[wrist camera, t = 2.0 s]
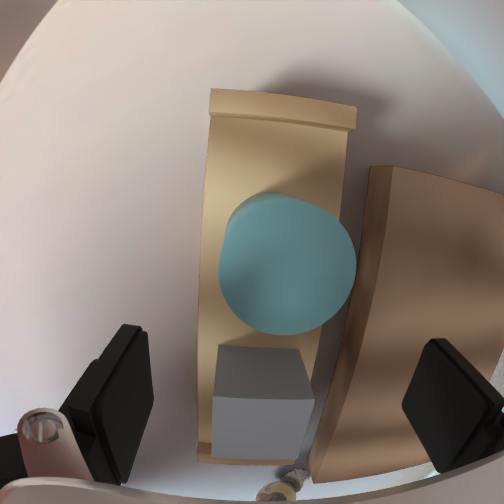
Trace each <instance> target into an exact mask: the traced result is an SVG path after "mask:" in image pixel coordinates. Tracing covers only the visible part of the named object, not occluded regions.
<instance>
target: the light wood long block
mask: <svg viewBox="0 0 504 504" xmlns="http://www.w3.org/2000/svg"><path fill="white" fill-rule="evenodd" d="M209 114H210V116H211V118H210V128H209V139H208V150H207V161H206V173H205V186H204V200H203V215H202V232H201V251H200V273H199V302H198V357H197V391H198V450H197V462H200V463H212V464H228V465H294V462H295V459H279V460H255V459H228V458H213V457H211V448H212V411H213V391H214V381H215V371H216V361H217V352H218V345H230V346H244V347H262V348H286V349H299V351H300V354H301V357H302V360H303V363H304V366H305V369H306V372H307V375H308V378H309V381H311V377H312V373H313V368H314V364H315V359H316V354H317V350H318V345H319V340H320V335H321V330H322V325H323V324H322V325H320V326H318V327H316V328H314V329H312V330H309V331H307V332H303V333H300V334H294V335H273V334H269V333H265V332H262V331H259V330H256V329H254V328H252V327H250V326H249V325H247V324H246V323H244V322H243V321H242V320H240V319H239V318H238V317H237V316H236V315H235V314H234V313H233V311H232V310H231V309H230V307H229V306H228V304H227V303H226V301H225V299H224V297H223V295H222V291H221V288H220V284H219V277H218V267H219V259H220V254H221V250H222V245H223V240H224V236H225V231H226V227H227V223H228V221H229V219H230V217H231V215H232V213H233V212H234V210H235V209H236V208H237V207H238V206H239V205H240V204H241V203H242V202H243V201H245V200H246V199H248V198H250V197H252V196H254V195H257V194H260V193H266V192H277V193H283V194H286V195H289V196H292V197H294V198H297V199H299V200H302V201H305V202H307V203H310V204H312V205H315V206H317V207H319V208H321V209H323V210H325V211H327V212H328V213H330V214H331V215H332V216H334V217H335V218H336V219H337V220H338V221H339V218H340V210H341V201H342V192H343V183H344V172H345V162H346V150H347V137H348V132H350V131H353V130H356V116H357V107H354V106H349V105H344V104H339V103H334V102H329V101H323V100H317V99H311V98H304V97H298V96H290V95H283V94H274V93H265V92H255V91H244V90H229V89H211V94H210V103H209Z"/></svg>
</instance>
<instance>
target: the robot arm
mask: <svg viewBox="0 0 504 504" xmlns="http://www.w3.org/2000/svg"><path fill="white" fill-rule="evenodd" d="M153 401H154V395H153V386H152V377H151V368H150V357H149V345H148V334H147V332H145V331H142V328H141V326H135V325H128V324H123V325H122V326H121V327H120V329H119V330H118V332H117V333H116V334H115V336H114V337H113V339H112V340H111V341H110V343H109V344H108V346H107V347H106V348H105V350H104V351H103V353H102V354H101V356H100V357H99V358H98V359H95V360H93V361H92V362H91V364H90V365H89V366H88V368H87V369H86V371H85V372H84V374H83V375H82V376H81V378H80V379H79V381H78V382H77V384H76V385H75V387H74V388H73V390H72V391H71V392H70V394H69V395H68V397H67V398H66V400H65V401H64V403H63V404H62V406H61V407H60V409H59V410H58V411H57V410H54V409H51V408H37V409H34V410H31V411H29V412H27V413H26V414H24V415H23V416H22V418H21V419H20V420H19V423H18V425H17V430H16V431H14V432H13V434H10V435H6V436H2V437H0V504H504V413H503V412H502V411H501V410H502V408H503V407H504V398H503V397H502V396H501V394H500V393H499V392H498V391H497V390H496V389H495V388H494V387H493V386H492V385H491V384H490V383H489V382H488V381H487V380H486V379H485V377H484V376H483V375H482V374H481V373H480V372H479V371H478V370H477V369H476V368H475V367H474V366H473V365H472V364H471V363H470V362H469V361H468V360H467V359H466V358H465V357H464V356H463V355H462V354H461V353H460V352H459V351H458V350H457V349H456V348H455V347H454V346H453V345H452V344H451V343H450V342H449V341H448V340H447V339H445V338H434V339H430V340H429V341H428V343H426V344H425V345H424V348H423V350H422V353H421V356H420V359H419V361H418V364H417V366H416V369H415V372H414V374H413V377H412V379H411V381H410V384H409V386H408V389H407V391H406V393H405V395H404V398H403V400H402V410H403V412H404V413H405V415H406V417H407V418H408V420H409V422H410V424H411V425H412V427H413V429H414V431H415V433H416V434H417V436H418V438H419V440H420V441H421V443H422V445H423V447H424V449H425V451H426V452H427V454H428V456H429V458H430V460H431V462H432V463H433V465H434V467H435V469H436V471H437V472H438V473H441V474H439V475H436V476H433V477H430V478H426V479H423V480H419V481H415V482H412V483H408V484H404V485H400V486H395V487H391V488H386V489H382V490H377V491H371V492H366V493H360V494H354V495H347V496H340V497H331V498H322V499H311V500H296V501H228V500H214V499H202V498H192V497H183V496H176V495H168V494H162V493H156V492H150V491H145V490H139V489H133V488H128V487H122V486H120V485H121V483H127V481H128V478H129V475H130V472H131V469H132V466H133V463H134V460H135V456H136V453H137V450H138V447H139V444H140V441H141V438H142V435H143V432H144V430H145V427H146V424H147V421H148V418H149V415H150V412H151V409H152V406H153Z"/></svg>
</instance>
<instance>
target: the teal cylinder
mask: <svg viewBox="0 0 504 504" xmlns="http://www.w3.org/2000/svg"><path fill="white" fill-rule="evenodd" d="M355 274H356V256H355V250H354V247H353V244H352V241H351V239H350V237H349V234H348V233H347V231H346V230H345V228H344V227H343V226H342V224H341V223H340V222H339V221H338V220H337V219H336V218H335V217H334V216H332V215H331V214H330V213H328V212H327V211H325V210H323V209H321V208H319V207H317V206H315V205H312V204H310V203H307V202H305V201H302V200H299V199H297V198H294V197H292V196H289V195H286V194H283V193H277V192H266V193H260V194H257V195H254V196H252V197H250V198H248V199H246V200H245V201H243V202H242V203H241V204H240V205H239V206H238V207H237V208H236V209H235V210H234V212H233V213H232V215H231V217H230V219H229V221H228V223H227V227H226V231H225V236H224V240H223V245H222V250H221V254H220V259H219V267H218V277H219V284H220V288H221V291H222V295H223V297H224V299H225V301H226V303H227V304H228V306H229V307H230V309H231V310H232V311H233V313H234V314H235V315H236V316H237V317H238V318H239V319H240V320H242V321H243V322H244V323H246V324H247V325H249V326H250V327H252V328H254V329H256V330H259V331H262V332H265V333H269V334H273V335H294V334H300V333H303V332H307V331H309V330H312V329H314V328H316V327H318V326H320V325H322V324H323V323H325V322H326V321H328V320H329V319H330V318H331V317H332V316H334V315H335V314H336V313H337V312H338V310H339V309H340V308H341V307H342V306H343V304H344V303H345V301H346V300H347V298H348V296H349V294H350V292H351V289H352V287H353V284H354V279H355Z"/></svg>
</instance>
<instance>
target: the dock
mask: <svg viewBox="0 0 504 504" xmlns="http://www.w3.org/2000/svg"><path fill="white" fill-rule="evenodd" d="M434 338H445V339H447V340H448V341H449V342H450V343H451V344H452V345H453V346H454V347H455V348H456V349H457V350H458V351H459V352H460V353H461V354H462V355H463V356H464V357H465V358H466V359H467V360H468V361H469V362H470V363H471V364H472V365H473V366H474V367H475V368H476V369H477V370H478V371H479V372H480V373H481V374H482V375H483V376H484V377H485V379H486V380H487V381H488V382H489V380H490V378H491V376H492V374H493V372H494V369H495V367H496V365H497V363H498V360H499V358H500V355H501V353H502V350H503V348H504V195H502V194H499V193H496V192H493V191H490V190H486V189H483V188H480V187H476V186H473V185H469V184H466V183H462V182H459V181H455V180H451V179H447V178H444V177H440V176H436V175H432V174H428V173H423V172H419V171H415V170H410V169H406V168H401V167H396V166H370V172H369V182H368V192H367V200H366V209H365V216H364V224H363V231H362V238H361V244H360V251H359V257H358V263H357V269H356V274H355V280H354V285H353V291H352V296H351V301H350V306H349V311H348V315H347V320H346V324H345V329H344V333H343V338H342V342H341V346H340V350H339V354H338V358H337V362H336V366H335V370H334V374H333V378H332V381H331V385H330V389H329V392H328V396H327V399H326V403H325V406H324V409H323V413H322V416H321V419H320V423H319V426H318V429H317V432H316V435H315V438H314V441H313V444H312V447H311V450H310V453H309V456H308V463H309V468H310V472H311V476H312V480H313V484H317V483H326V482H335V481H343V480H350V479H356V478H362V477H368V476H373V475H378V474H383V473H388V472H392V471H397V470H401V469H405V468H409V467H413V466H417V465H420V464H424V463H427V462H431V460H430V458H429V456H428V454H427V452H426V451H425V449H424V447H423V445H422V443H421V441H420V440H419V438H418V436H417V434H416V433H415V431H414V429H413V427H412V425H411V424H410V422H409V420H408V418H407V417H406V415H405V413H404V412H403V410H402V400H403V398H404V395H405V393H406V391H407V389H408V386H409V384H410V381H411V379H412V377H413V374H414V372H415V369H416V366H417V364H418V361H419V359H420V356H421V353H422V350H423V348H424V345H425V344H426V343H428V341H429V340H430V339H434Z"/></svg>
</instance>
